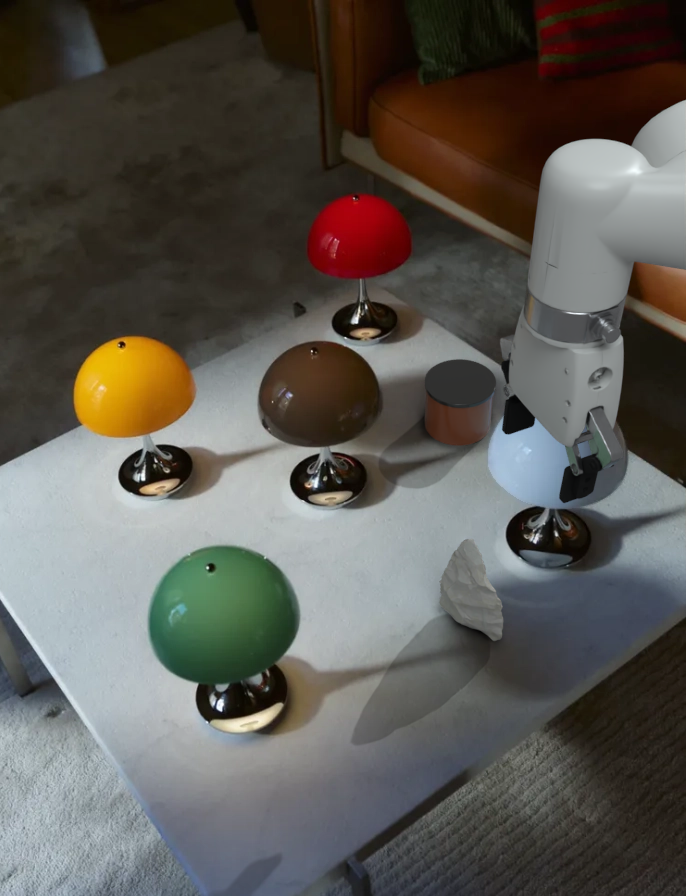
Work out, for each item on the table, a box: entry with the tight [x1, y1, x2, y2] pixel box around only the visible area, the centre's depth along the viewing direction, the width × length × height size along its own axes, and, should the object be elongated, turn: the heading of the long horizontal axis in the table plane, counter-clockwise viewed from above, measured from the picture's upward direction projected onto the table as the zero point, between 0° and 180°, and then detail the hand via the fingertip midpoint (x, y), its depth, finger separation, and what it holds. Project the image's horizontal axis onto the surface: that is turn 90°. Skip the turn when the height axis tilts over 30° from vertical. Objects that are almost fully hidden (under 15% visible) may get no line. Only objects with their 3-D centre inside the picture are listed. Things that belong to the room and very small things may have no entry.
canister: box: [424, 358, 497, 447], centre depth 130 cm, size 10×10×8 cm
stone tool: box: [438, 538, 504, 642], centre depth 104 cm, size 8×3×15 cm, turn 51°
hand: (545, 461), depth 86 cm, fingers open, 9 cm apart
